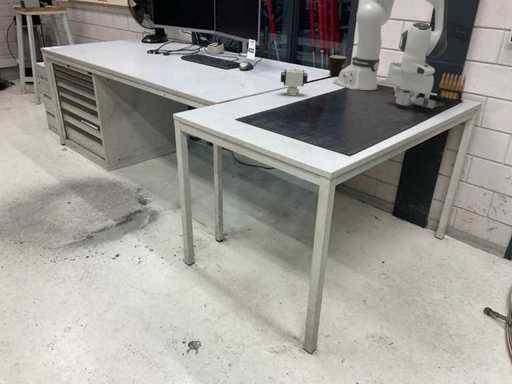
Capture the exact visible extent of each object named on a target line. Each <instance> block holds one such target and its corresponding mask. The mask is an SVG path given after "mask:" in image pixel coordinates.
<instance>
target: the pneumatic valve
mask: <svg viewBox="0 0 512 384" xmlns="http://www.w3.org/2000/svg"><path fill="white" fill-rule="evenodd" d="M283 70H284V71H282V72H281V73H280V83H283V86H285V87H286V86H288V88H286V94H287V95H288V96H290V97H291V96H293V97H296V96H297V95H299V94H300V93H299V92H300V90H299V88H298V87H304V85H305V84H307V83H308V73H306V72H305V70H304V69H297V68H295V67H293V69H286V68H285V69H283Z"/></svg>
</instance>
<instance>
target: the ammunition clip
mask: <svg viewBox="0 0 512 384" xmlns="http://www.w3.org/2000/svg"><path fill="white" fill-rule="evenodd" d="M466 78H467V76H466V75H464V76H463V79H462V74H460V75H459V77H458V74H456V75H455V76H454V73H451V76H450V72H448V73H447V74H446V72H444V73H443V74H442V78H441V80H440V83H439V87H438V90H437V93H436V96H435V98H436V97H437V98H442V99H448V100H457V101H460V100H461V101H462V98H463V93H464V89H465V85H466V80H467V79H466ZM437 98H436V99H437ZM442 99H441V100H442ZM448 100H447V101H448Z"/></svg>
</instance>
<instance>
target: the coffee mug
mask: <svg viewBox="0 0 512 384" xmlns="http://www.w3.org/2000/svg"><path fill="white" fill-rule="evenodd" d="M346 59H347V57H346V56H344V55H335V54H334V55H330V56H329V76H330V77H333V78H338V77H339V74H340V72H341V70H343V69H344V67H345V62H346Z"/></svg>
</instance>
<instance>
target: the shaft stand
mask: <svg viewBox="0 0 512 384" xmlns="http://www.w3.org/2000/svg"><path fill="white" fill-rule="evenodd" d="M431 92H432V91H431ZM431 92H430V93H428V94H424V97H421V96H420V97H416V98H415V101H414V102H412V103H411V105H412V104H413V105H412V106H415V105H417V107H419V106H422V107H421V108H423V107H426V108H425V109H427V108H430V109H429V110H431V109H432V110H434V109H433V108H435V107H438V106H440V107H442V106H441V105H443V106H445V105H444V104H446V103H445V102H441V101H436V100H433V99H430V96H431ZM438 108H439V107H438ZM435 109H436V108H435Z"/></svg>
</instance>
